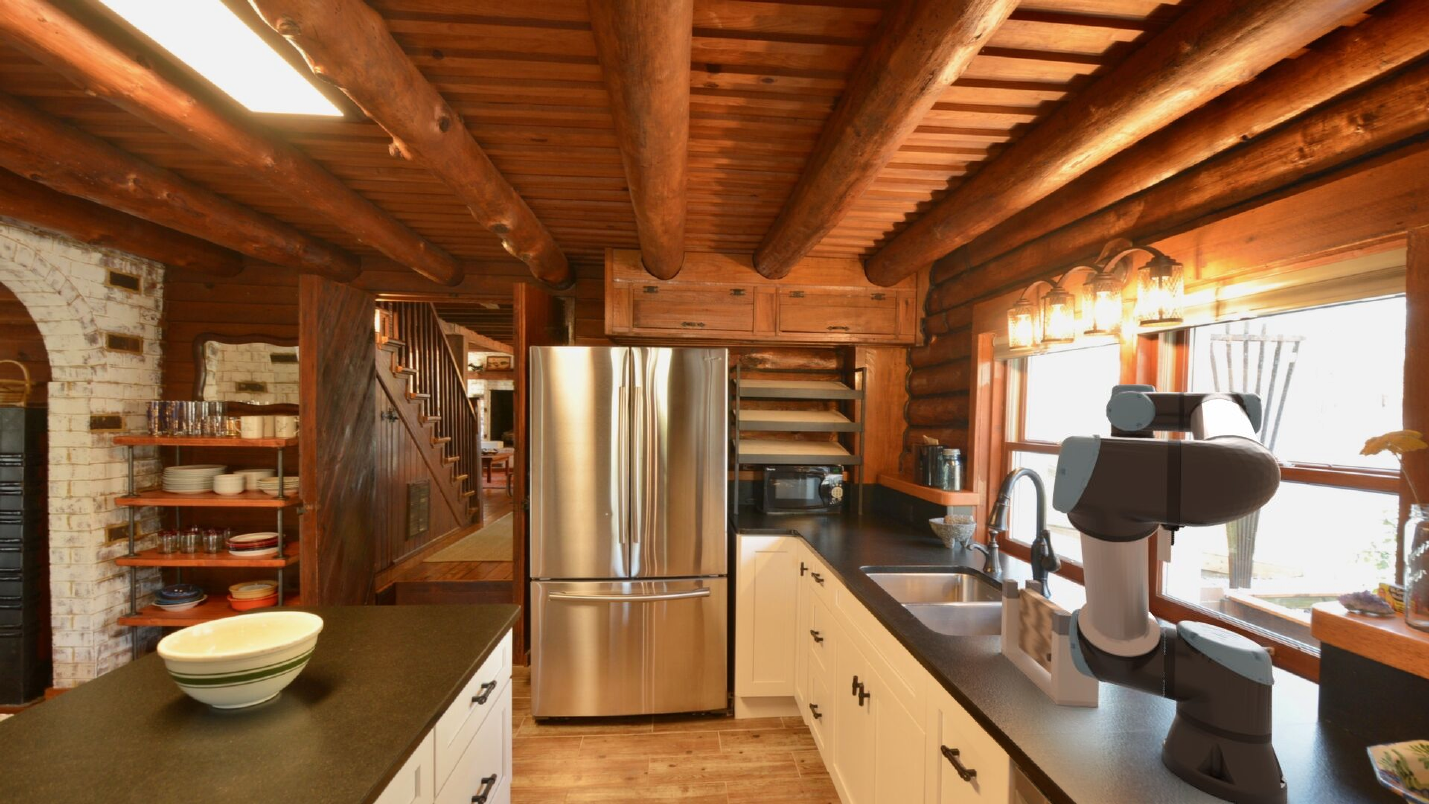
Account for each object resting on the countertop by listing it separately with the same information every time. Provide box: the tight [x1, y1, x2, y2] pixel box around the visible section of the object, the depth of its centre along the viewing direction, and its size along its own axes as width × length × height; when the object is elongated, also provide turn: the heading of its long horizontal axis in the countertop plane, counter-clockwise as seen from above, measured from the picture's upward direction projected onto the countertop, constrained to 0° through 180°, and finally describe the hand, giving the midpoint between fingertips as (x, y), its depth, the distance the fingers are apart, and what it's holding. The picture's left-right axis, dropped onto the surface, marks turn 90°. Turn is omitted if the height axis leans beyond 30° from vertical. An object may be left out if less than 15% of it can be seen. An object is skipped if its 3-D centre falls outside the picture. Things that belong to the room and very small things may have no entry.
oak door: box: [1018, 587, 1072, 674], centre depth 124 cm, size 25×4×14 cm, turn 177°
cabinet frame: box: [1000, 578, 1100, 708], centre depth 124 cm, size 25×8×18 cm, turn 177°
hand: (1130, 559), depth 116 cm, fingers open, 13 cm apart
